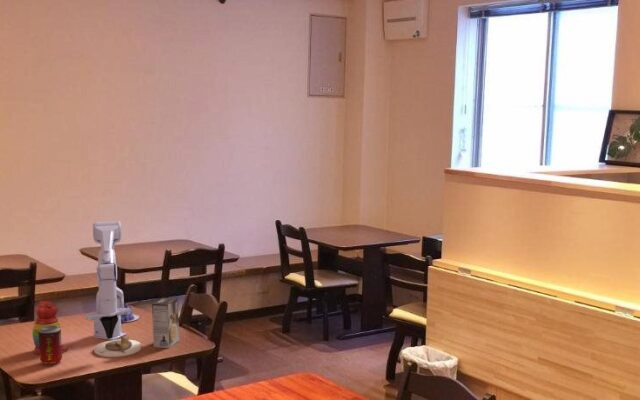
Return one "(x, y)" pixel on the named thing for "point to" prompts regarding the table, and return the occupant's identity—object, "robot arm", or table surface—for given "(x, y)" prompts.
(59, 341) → the soda can
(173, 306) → the coffee box
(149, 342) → the table surface
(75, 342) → the table surface
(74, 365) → the table surface
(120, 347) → the dial
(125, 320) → the blue checkered cloth
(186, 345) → the table surface
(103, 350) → the base
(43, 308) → the stacking bear
